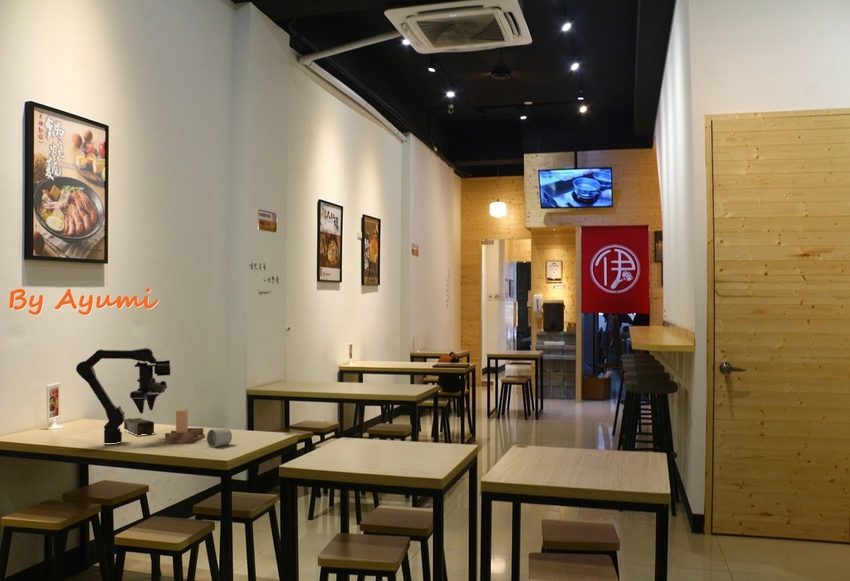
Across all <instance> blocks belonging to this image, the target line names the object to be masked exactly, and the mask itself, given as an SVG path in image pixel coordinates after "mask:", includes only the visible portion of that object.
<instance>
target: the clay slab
mask: <svg viewBox="0 0 850 581" xmlns="http://www.w3.org/2000/svg"><path fill="white" fill-rule="evenodd" d="M188 414H189V410H188V409H177V410H175V431H176V433H188V428H189V426H188V425H189V421H188V420H189V415H188Z"/></svg>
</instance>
